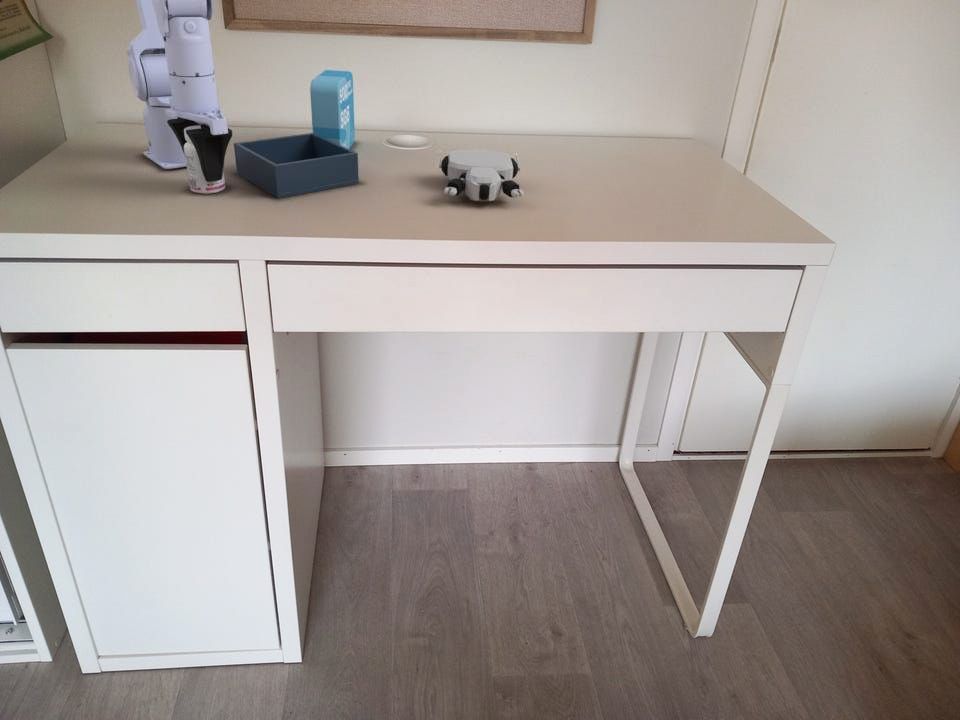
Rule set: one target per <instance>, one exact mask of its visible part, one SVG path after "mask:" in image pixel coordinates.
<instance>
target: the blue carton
mask: <svg viewBox="0 0 960 720" xmlns="http://www.w3.org/2000/svg"><path fill="white" fill-rule="evenodd" d="M309 95H310V108H311V109H310V110H311V127H312V133H315V134H317V135H319V136H321V137H323V138H326V139H328V140H330V141H332V142H334V143H337V144H339V145H341V146H343V147H345V148H348V149H350V148H351V147H352V146H353V144H354V143H355V137H356V136H355V134H356V130H355V129H356V128H355V104H354V103H355V101H354V99H355V97H354V76H353V72H351V71H348V70H335V69H334V70H333V69H324V71H322V72H321V73H319V74H318V75H317V76H315V77H314V78H313V79H311V81H310V87H309Z"/></svg>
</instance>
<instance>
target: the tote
mask: <svg viewBox="0 0 960 720" xmlns="http://www.w3.org/2000/svg"><path fill="white" fill-rule="evenodd" d="M233 150H234V151H233V152H234V161H235V169H236V174H237V175H239V176H240V177H241V178H243V179H245V180H247V181H248V182H250V183H252V184H253V185H255V186H257V187H259V188H260V189H262V190H263V191H265V192H267V193H268V194H270V195H272V196H273V197H275V198H277V199H281V198H287V197H293V196H299V195H304V194H309V193H315V192H320V191H325V190H332V189H336V188H342V187H347V186H348V187H349V186H352V185H353V186H354V185H358V184H359V182H360V181H359V180H360V179H359V152H356V151H354V150H352V149H350V148H349V149H348V148H345V147H343V146H341V145H339V144H337V143H334V142H332V141H330V140H328V139H326V138H323V137H321V136H319V135H317V134H315V133H313V132H307V133H300V134H293V135H285V136H278V137H271V138H263V139H256V140H249V141H240V142H233Z"/></svg>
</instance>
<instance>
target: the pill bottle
mask: <svg viewBox="0 0 960 720" xmlns="http://www.w3.org/2000/svg"><path fill="white" fill-rule="evenodd" d="M191 129H201V126H200V125H199V126H190V127H187V128H185V129H184V135H185V140H186V141H188V142H187V143H185V145H184V153H185V159H186V166H187V167H186V172H187V177H188V183H189V184H188V185H189V189H190V191H191V192H193V193H195V194H196V193H197V194H204V195H205V194H207V195H208V194H209V195H210V194H216V193H219V192H220V193H221V192H223V190H225V188H226V179H225V174H224V173H225V172H224V171H223V175H222V180H217V181H211V182H207V181H206V180H205V178H204V175H203V172H202V169H201V165H200V161H199V157H198V155H197V152H196V149H195V147H194V145H193V143H192V141H191V140H190V138H189V137H188V135H187V134H186V130H191Z"/></svg>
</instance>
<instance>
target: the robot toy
mask: <svg viewBox="0 0 960 720" xmlns="http://www.w3.org/2000/svg"><path fill="white" fill-rule="evenodd" d="M438 155H439V162H438V169H441V172H442V173H443V174H444V176H445V177H447V178H448V180H449V182H447V186H446V187H445V188H444V190H443V193H444V195H449V196H454V197H456V196H459V195H460V194H461V193H462V192H463V191H464V194H465V196H467V198H468V199H469V200H470V201H472V202H481V203H486V202H487V203H489V202H494V201H496V200H497V198H499V197H500V195H501V189H502V193H503V194H505V195H506V196H507V197H509V198H519V197H524V195H525V192H524V191H523V189H520V184H518V183H517V182H516V181H515V180H512V179H515V177H516V176H517V174H518V172H520V171H521V165H520V162H519V153H517V152H516V153H515V158H512V157H511V154H510V153H506V152H503V151H498V150H493V149H492V150H490V149H479V148H478V149H477V148H473V149H467V148H466V149H456V150H452V151H450V152H449V153H448V155H446V156H444V157H443V159H442V150H439V151H438ZM515 159H516V160H515Z"/></svg>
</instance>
